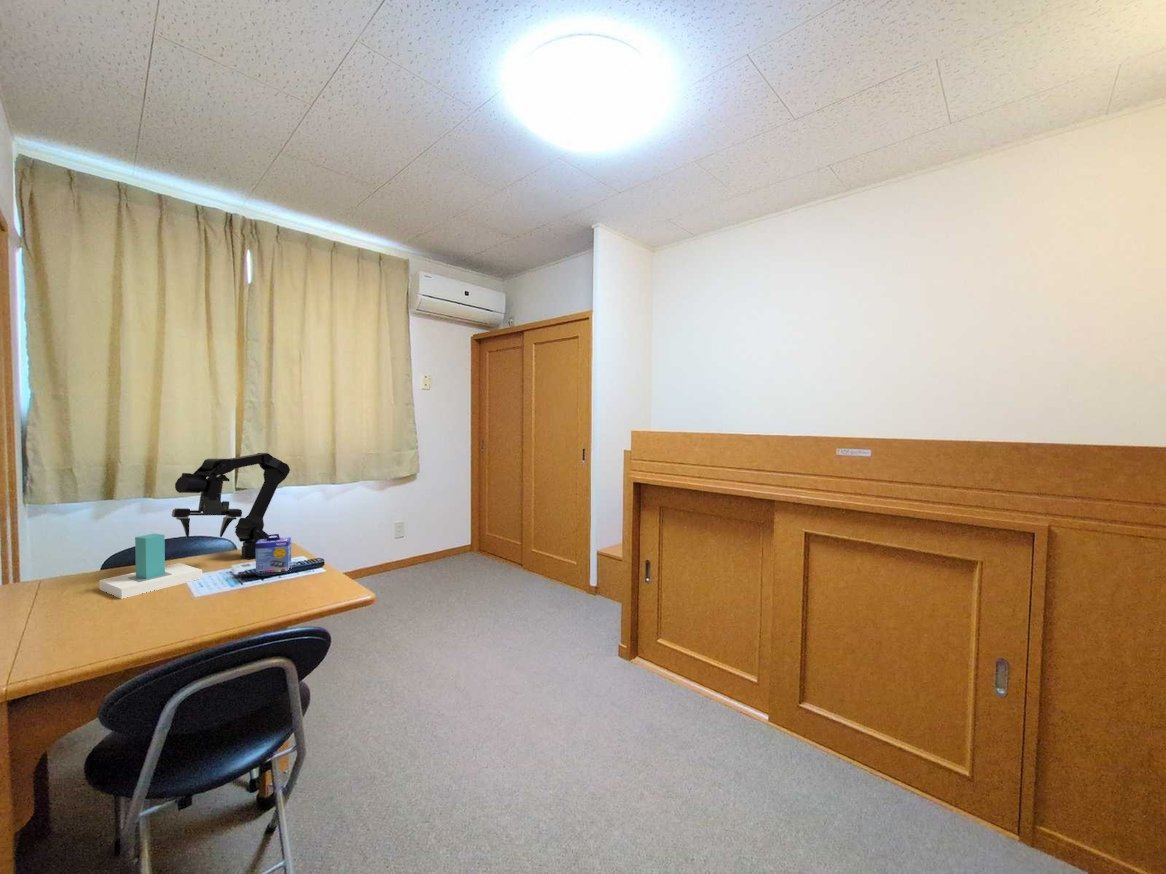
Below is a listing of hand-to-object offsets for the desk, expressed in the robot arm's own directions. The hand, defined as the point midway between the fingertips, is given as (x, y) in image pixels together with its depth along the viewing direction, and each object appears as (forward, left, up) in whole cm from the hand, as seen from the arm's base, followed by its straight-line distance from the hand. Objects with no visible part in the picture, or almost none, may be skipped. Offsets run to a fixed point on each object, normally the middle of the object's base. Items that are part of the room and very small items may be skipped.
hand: (204, 537), depth 158 cm
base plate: (+14, 0, -12) cm, 19 cm away
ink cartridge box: (-10, +24, -12) cm, 29 cm away
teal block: (+15, +1, -9) cm, 18 cm away
